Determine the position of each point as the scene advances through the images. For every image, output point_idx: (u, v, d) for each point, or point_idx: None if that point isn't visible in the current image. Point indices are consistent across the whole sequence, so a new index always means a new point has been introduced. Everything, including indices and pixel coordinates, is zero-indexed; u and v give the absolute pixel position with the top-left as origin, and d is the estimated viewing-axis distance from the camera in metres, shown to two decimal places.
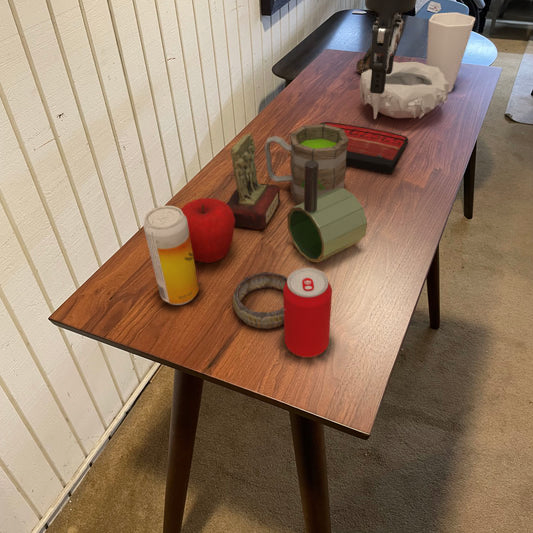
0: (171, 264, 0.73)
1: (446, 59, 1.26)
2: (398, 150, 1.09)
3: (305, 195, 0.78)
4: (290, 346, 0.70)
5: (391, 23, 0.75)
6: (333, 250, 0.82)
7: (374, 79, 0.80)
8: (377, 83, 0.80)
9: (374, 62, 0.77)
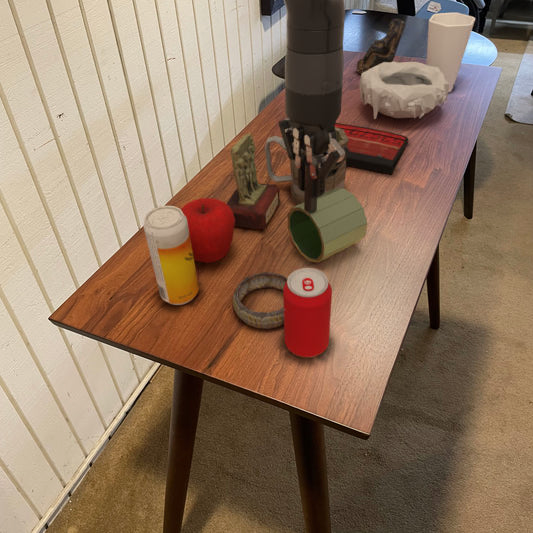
0: (171, 264, 0.73)
1: (446, 59, 1.26)
2: (398, 150, 1.09)
3: (305, 195, 0.78)
4: (290, 346, 0.70)
5: (335, 130, 0.69)
6: (333, 250, 0.82)
7: (318, 186, 0.75)
8: (321, 188, 0.76)
9: None
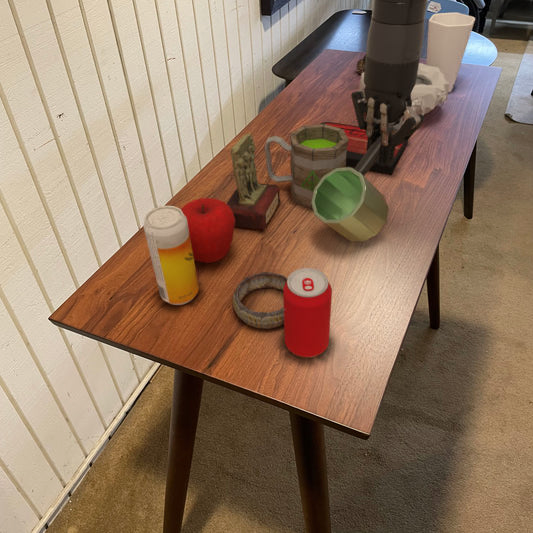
0: (171, 264, 0.73)
1: (446, 59, 1.26)
2: (398, 150, 1.09)
3: (366, 155, 0.81)
4: (290, 346, 0.70)
5: (410, 98, 0.74)
6: (359, 218, 0.81)
7: (389, 153, 0.80)
8: (390, 155, 0.81)
9: None
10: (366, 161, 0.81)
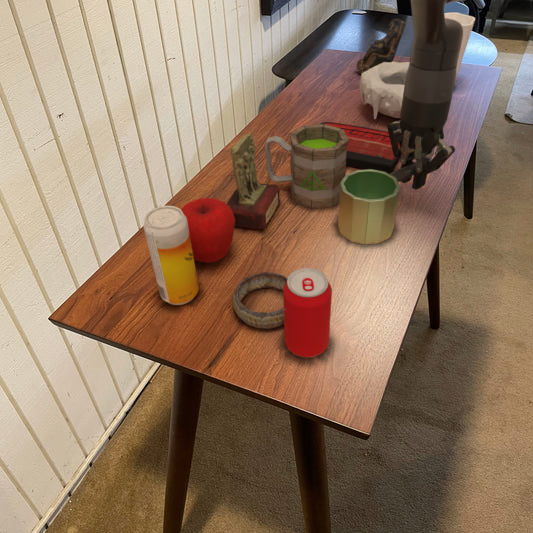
0: (171, 264, 0.73)
1: None
2: None
3: (402, 169, 0.89)
4: (290, 346, 0.70)
5: None
6: (384, 209, 0.84)
7: (421, 179, 0.90)
8: (423, 181, 0.90)
9: None
10: (401, 172, 0.88)
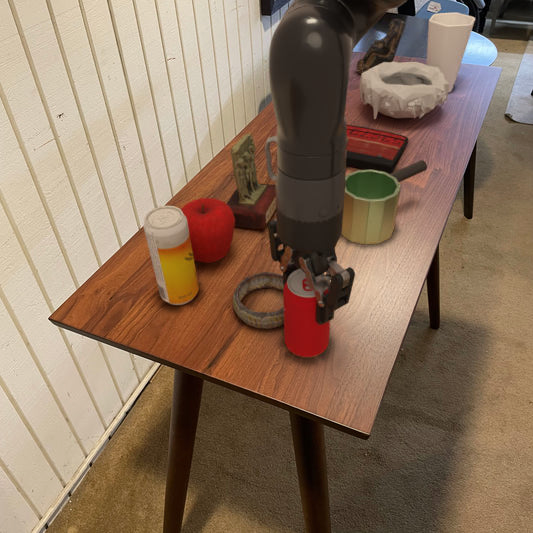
0: (171, 264, 0.73)
1: (446, 59, 1.26)
2: (398, 150, 1.09)
3: (402, 169, 0.89)
4: (290, 346, 0.70)
5: (335, 253, 0.58)
6: (384, 209, 0.84)
7: (327, 313, 0.63)
8: (329, 315, 0.63)
9: None
10: (401, 173, 0.88)
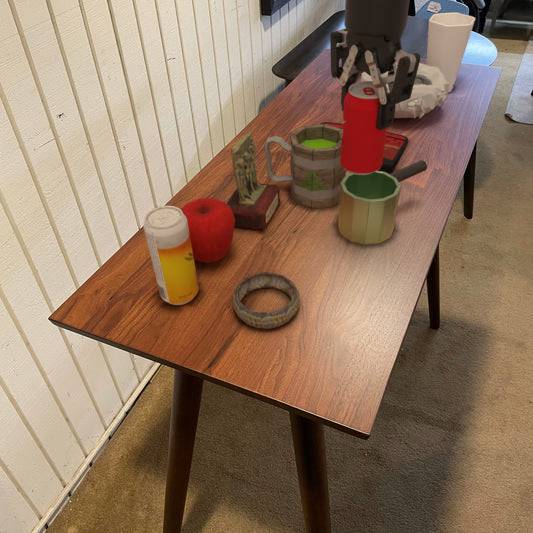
0: (171, 264, 0.73)
1: (446, 59, 1.26)
2: (398, 150, 1.09)
3: (402, 169, 0.89)
4: (347, 164, 0.74)
5: (400, 43, 0.62)
6: (384, 209, 0.84)
7: (388, 114, 0.67)
8: (390, 117, 0.68)
9: None
10: (401, 173, 0.88)
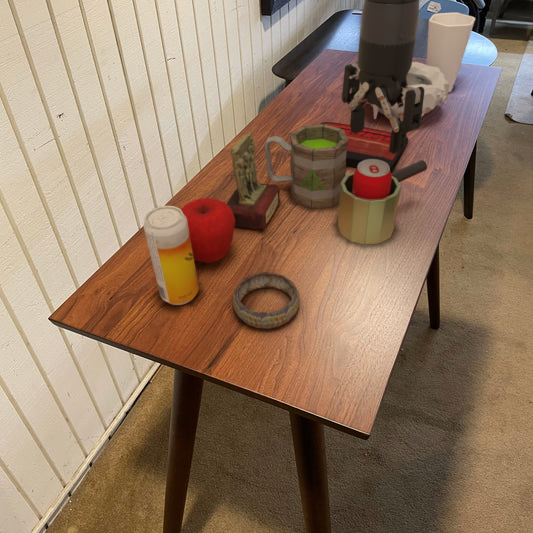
0: (171, 264, 0.73)
1: (446, 59, 1.26)
2: None
3: (402, 169, 0.89)
4: None
5: (406, 82, 0.72)
6: (384, 209, 0.84)
7: (400, 140, 0.75)
8: (402, 142, 0.76)
9: None
10: (401, 173, 0.88)
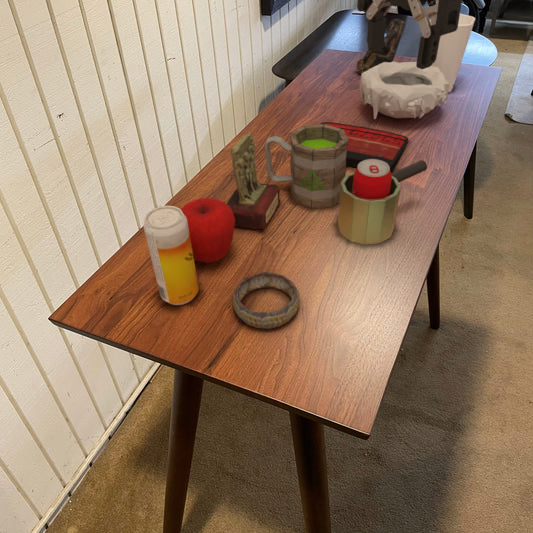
0: (171, 264, 0.73)
1: (446, 59, 1.26)
2: (398, 150, 1.09)
3: (402, 169, 0.89)
4: None
5: None
6: (384, 209, 0.84)
7: (431, 49, 0.61)
8: (433, 53, 0.61)
9: None
10: (401, 173, 0.88)
